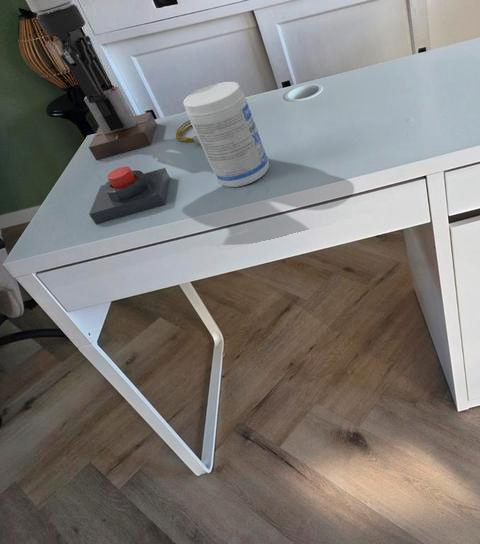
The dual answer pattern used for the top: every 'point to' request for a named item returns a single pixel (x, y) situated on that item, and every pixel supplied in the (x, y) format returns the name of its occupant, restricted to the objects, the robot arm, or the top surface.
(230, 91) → the supplement tub
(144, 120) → the base
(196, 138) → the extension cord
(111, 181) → the red button
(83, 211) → the top surface
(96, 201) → the button block
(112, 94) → the tap lever
